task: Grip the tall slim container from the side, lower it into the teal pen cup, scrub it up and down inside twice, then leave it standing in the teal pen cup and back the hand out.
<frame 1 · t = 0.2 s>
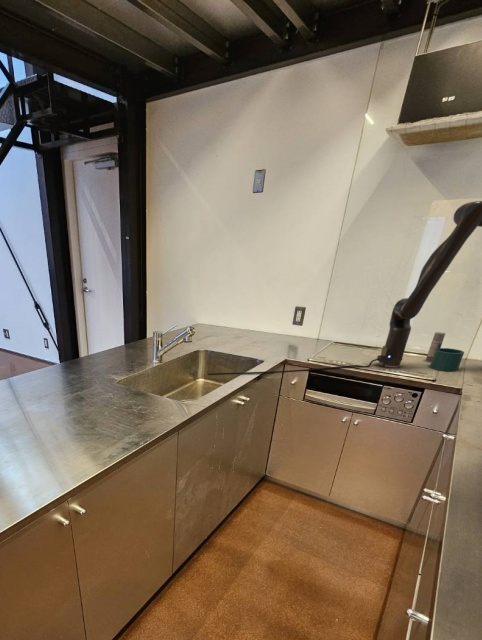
teal pen cup: (443, 368, 195), on the table
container: (430, 361, 207), on the table
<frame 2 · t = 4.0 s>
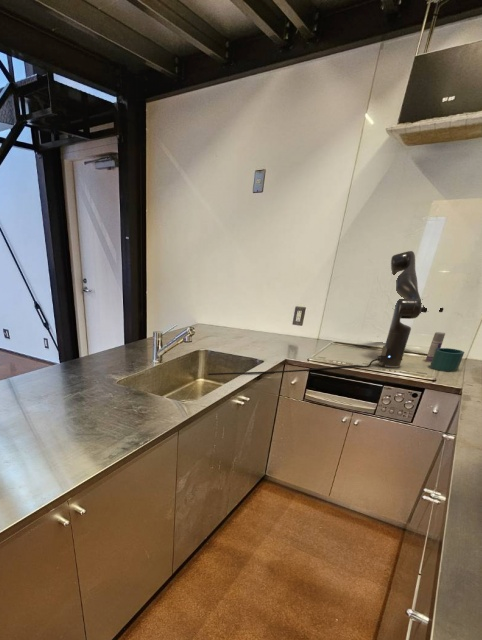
hand: (434, 310, 204), 25 cm above the table, tool horizontal, fingers open, 8 cm apart
nothing on the table moved.
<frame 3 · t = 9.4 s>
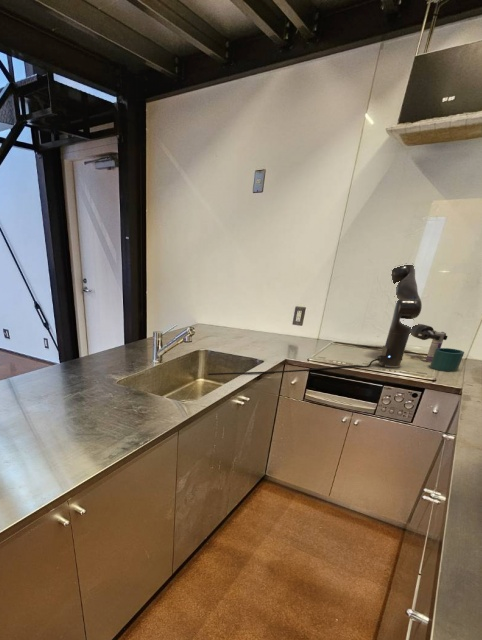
hand: (442, 338, 198), 13 cm above the table, tool horizontal, fingers closed on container, 3 cm apart
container: (430, 361, 207), on the table, touching gripper
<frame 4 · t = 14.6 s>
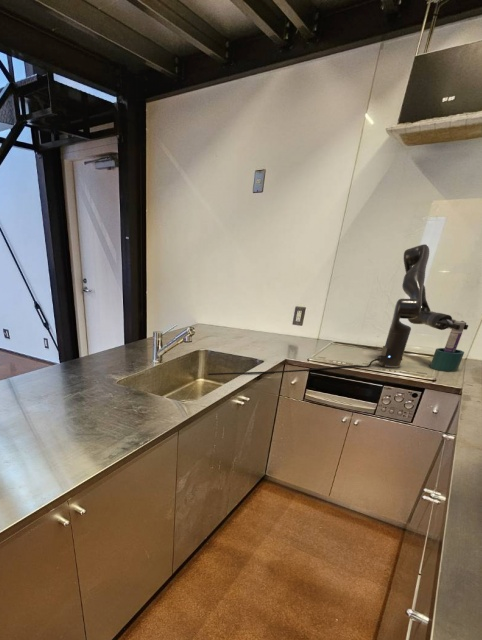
hand: (462, 327, 182), 21 cm above the table, tool horizontal, fingers closed on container, 3 cm apart
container: (448, 353, 191), point 8 cm above the table, touching gripper
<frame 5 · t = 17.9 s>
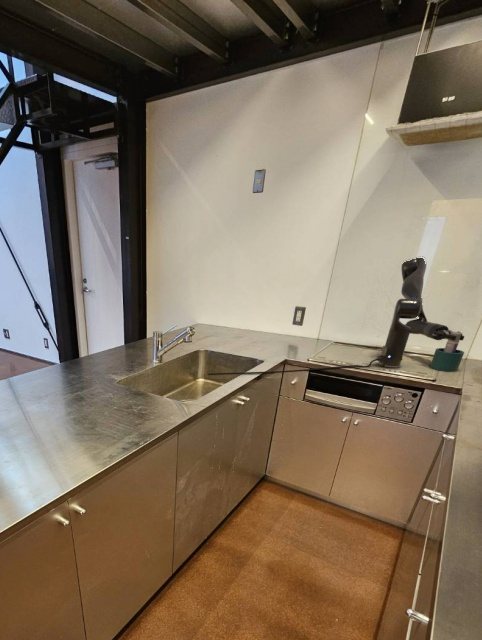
hand: (459, 338, 185), 16 cm above the table, tool horizontal, fingers closed on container, 3 cm apart
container: (445, 363, 193), point 3 cm above the table, touching gripper
when the fingers open (14 cm above the table, at t = 20.2 s): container stays where it is, resting on teal pen cup.
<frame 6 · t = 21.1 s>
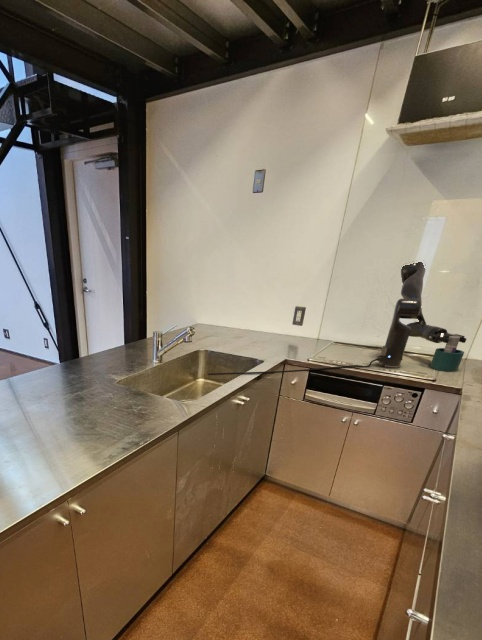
hand: (456, 340, 186), 14 cm above the table, tool horizontal, fingers open, 8 cm apart
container: (443, 366, 195), point 1 cm above the table, touching teal pen cup
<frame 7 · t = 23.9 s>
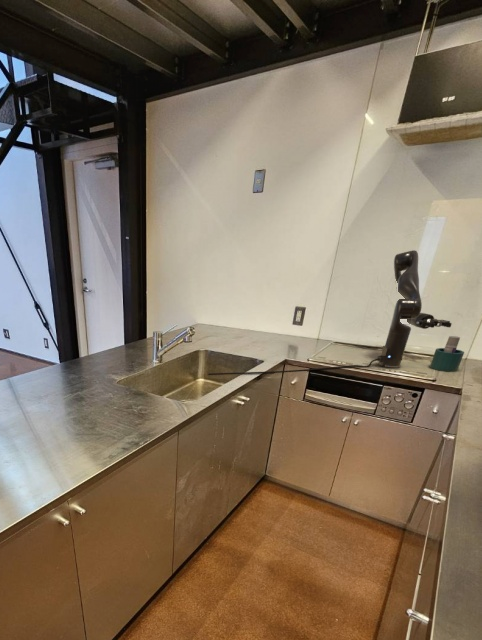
hand: (442, 325, 195), 19 cm above the table, tool horizontal, fingers open, 8 cm apart
nothing on the table moved.
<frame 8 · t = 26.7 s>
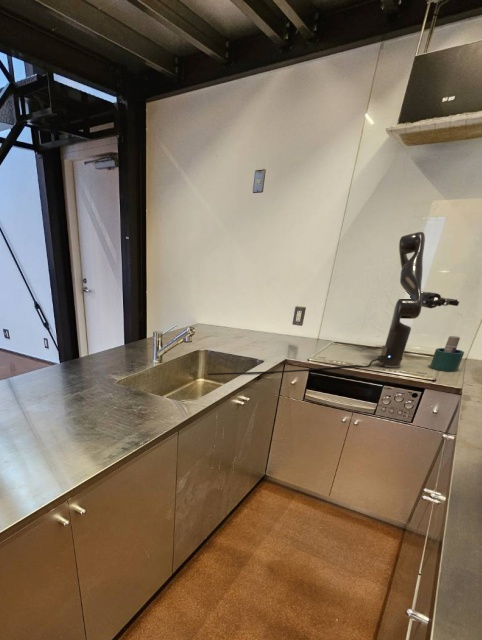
hand: (449, 303, 190), 30 cm above the table, tool horizontal, fingers open, 8 cm apart
nothing on the table moved.
at the end: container 0.2 cm off-centre in the teal pen cup, point 0.6 cm above the teal pen cup's base; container tilted 0°; the gripper is holding nothing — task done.
